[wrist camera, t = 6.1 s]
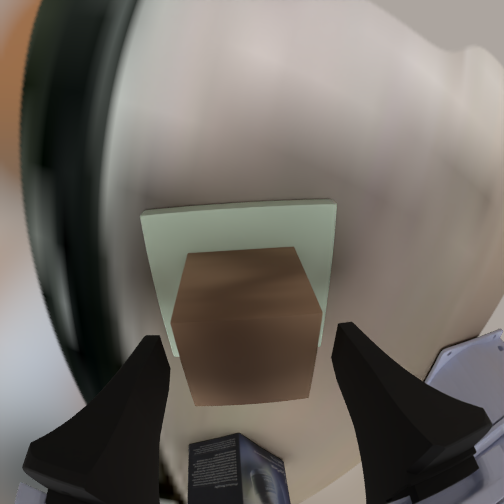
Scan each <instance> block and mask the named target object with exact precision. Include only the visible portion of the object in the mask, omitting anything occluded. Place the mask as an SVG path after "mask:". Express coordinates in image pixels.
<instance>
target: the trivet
mask: <svg viewBox="0 0 504 504" xmlns="http://www.w3.org/2000/svg"><path fill="white" fill-rule="evenodd" d="M336 210H337V204H336V203H335V202H334V201H333V200H332V199H311V200H282V201H260V202H242V203H226V204H211V205H198V206H185V207H174V208H163V209H152V210H144V212H143V213H142V214H141V215H140V219H141V225H142V230H143V235H144V240H145V245H146V250H147V255H148V260H149V264H150V269H151V273H152V278H153V282H154V286H155V290H156V294H157V298H158V302H159V306H160V310H161V313H162V317H163V321H164V324H165V328H166V332H167V335H168V338H169V342H170V345H171V349H172V352H173V355H174V357H180V356H179V353H178V349H177V346H176V342H175V339H174V335H173V331H172V328H171V324H170V322H171V317H172V313H173V309H174V305H175V301H176V297H177V292H178V288H179V284H180V281H181V277H182V273H183V269H184V265H185V261H186V258H187V254H188V253H197V252H213V251H229V250H245V249H261V248H277V247H293V246H294V248H295V250H296V252H297V255H298V257H299V259H300V261H301V263H302V266H303V268H304V270H305V273H306V275H307V277H308V279H309V282H310V284H311V286H312V289H313V291H314V293H315V295H316V298H317V300H318V302H319V305H320V307H321V310H322V312H323V315H322V322H321V329H320V335H319V342H318V347H320V346H321V339H322V333H323V327H324V320H325V313H326V306H327V299H328V291H329V283H330V275H331V266H332V256H333V246H334V235H335V223H336Z"/></svg>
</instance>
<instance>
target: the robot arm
mask: <svg viewBox="0 0 504 504" xmlns="http://www.w3.org/2000/svg"><path fill="white" fill-rule="evenodd" d="M502 332H503V330H502V329H498V330H496V331H493V332H490V333H488V334H485V335H483V336H480V337H477V338H475V339H472V340H469V341H466V342H463V343H460V344H458V345H455V346H452V347H448V348H445V349H443V350H442V351H441V352H440V354H439V356H438V358H437V360H436V362H435V364H434V366H433V368H432V370H431V371H430V373H429V375H428V377H427V379H426V380H425V382H423V381H421V380H420V379H418V378H417V377H415V376H414V375H412V374H411V373H409V372H408V371H407V370H405V369H404V368H403V367H401V366H400V365H399V364H398V363H396V362H395V361H394V360H393V359H391V358H390V357H389V356H388V355H387V354H386V353H385V352H383V351H382V350H381V349H380V348H379V347H378V346H377V345H376V344H375V343H374V342H372V341H371V340H370V339H369V338H368V337H367V336H366V335H365V334H364V333H363V332H362V331H361V330H360V329H359V328H358V327H357V326H356V325H355V324H354V323H353V322H346V323H339V324H338V327H337V332H336V337H335V342H334V347H333V352H332V356H331V358H332V363H333V367H334V371H335V375H336V379H337V382H338V384H339V387H340V390H341V392H342V395H343V398H344V400H345V403H346V405H347V408H348V411H349V413H350V416H351V419H352V422H353V425H354V428H355V432H356V437H357V441H358V446H359V451H360V456H361V461H362V467H363V474H364V481H365V490H366V504H504V342H503V341H502V340H501V339H500V336H501V335H502ZM169 382H170V366H169V363H168V360H167V357H166V354H165V351H164V348H163V345H162V341H161V338H160V335H146V336H145V337H144V338H143V339H142V341H141V342H140V343H139V345H138V346H137V347H136V349H135V350H134V351H133V353H132V354H131V355H130V357H129V358H128V359H127V361H126V362H125V363H124V364H123V366H122V367H121V368H120V370H119V371H118V372H117V373H116V375H115V376H114V377H113V378H112V379H111V380H110V382H109V383H108V384H107V385H106V386H105V387H104V389H103V390H102V391H101V392H100V393H99V394H98V395H97V396H96V397H95V398H94V399H93V400H92V401H91V402H90V403H89V404H88V405H86V406H85V407H84V408H83V409H82V410H81V411H79V412H78V413H77V414H76V415H75V416H73V417H72V418H71V419H70V420H68V421H67V422H65V423H64V424H62V425H61V426H59V427H58V428H56V429H55V430H53V431H52V432H50V433H49V434H46V435H45V436H43V437H41V438H39V439H37V440H35V441H33V442H31V443H30V446H29V449H28V452H27V455H26V458H25V461H24V464H23V467H22V468H23V470H24V472H25V473H26V474H28V475H29V476H30V477H31V478H33V479H34V480H36V481H37V482H39V483H40V484H42V485H43V486H45V487H46V488H48V492H47V494H46V493H44V492H42V491H40V490H38V489H36V488H33V487H31V486H29V485H27V484H25V483H23V482H20V484H19V488H18V491H17V495H16V499H15V503H14V504H160V500H159V442H160V434H161V429H162V423H163V418H164V413H165V408H166V402H167V397H168V392H169Z"/></svg>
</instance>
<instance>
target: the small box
mask: <svg viewBox="0 0 504 504" xmlns="http://www.w3.org/2000/svg"><path fill="white" fill-rule="evenodd" d="M188 504H291V503H290V498H289V492H288V486H287V480H286V473H285V467H284V462H283V461H282V460H280V459H279V458H277V457H275V456H274V455H272V454H270V453H269V452H267V451H266V450H264V449H262V448H261V447H259V446H258V445H256V444H255V443H253V442H252V441H250V440H249V439H247V438H246V437H244V436H243V435H241V434H240V433H236V434H233V435H229V436H225V437H221V438H217V439H212V440H208V441H204V442H199V443H194V444H190V445H189V466H188Z"/></svg>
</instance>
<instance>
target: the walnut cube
mask: <svg viewBox="0 0 504 504" xmlns="http://www.w3.org/2000/svg"><path fill="white" fill-rule="evenodd" d="M322 315H323V312H322V310H321V307H320V305H319V302H318V300H317V298H316V295H315V293H314V291H313V289H312V286H311V284H310V282H309V279H308V277H307V275H306V273H305V270H304V268H303V266H302V263H301V261H300V259H299V257H298V255H297V252H296V250H295V248H294V246H293V247H277V248H261V249H245V250H229V251H213V252H197V253H188V254H187V258H186V261H185V265H184V269H183V273H182V277H181V281H180V284H179V288H178V292H177V297H176V301H175V305H174V309H173V313H172V317H171V322H170V324H171V328H172V331H173V335H174V339H175V342H176V346H177V349H178V353H179V356H180V360H181V363H182V366H183V370H184V373H185V376H186V379H187V382H188V386H189V389H190V392H191V395H192V398H193V401H194V404H195V406H223V405H244V404H258V403H269V402H279V401H288V400H296V399H303V398H309V393H310V388H311V382H312V377H313V371H314V366H315V360H316V354H317V348H318V342H319V335H320V329H321V322H322Z"/></svg>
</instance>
